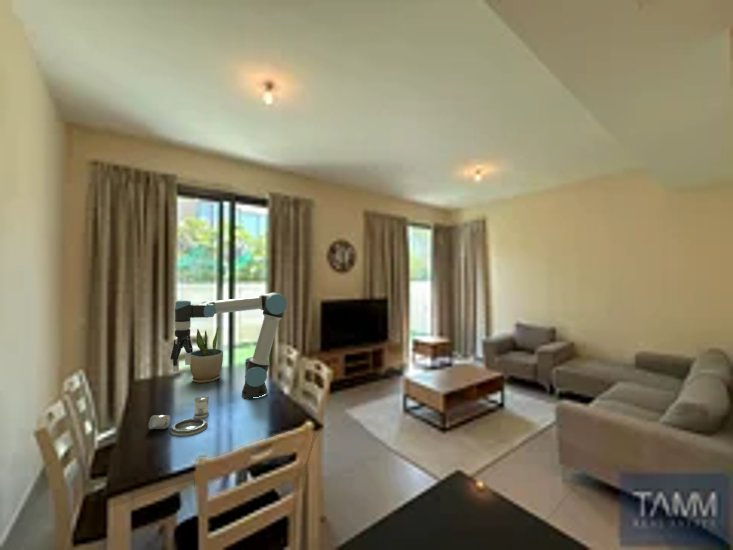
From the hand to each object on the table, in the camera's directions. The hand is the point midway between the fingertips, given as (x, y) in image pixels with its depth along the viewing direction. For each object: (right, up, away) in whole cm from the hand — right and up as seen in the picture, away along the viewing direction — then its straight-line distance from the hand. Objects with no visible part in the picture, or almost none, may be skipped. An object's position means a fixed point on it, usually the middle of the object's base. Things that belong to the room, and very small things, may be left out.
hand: (182, 368), depth 188 cm
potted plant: (-11, -22, +52) cm, 57 cm away
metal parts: (+11, -23, -23) cm, 34 cm away
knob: (+14, -23, -7) cm, 28 cm away
